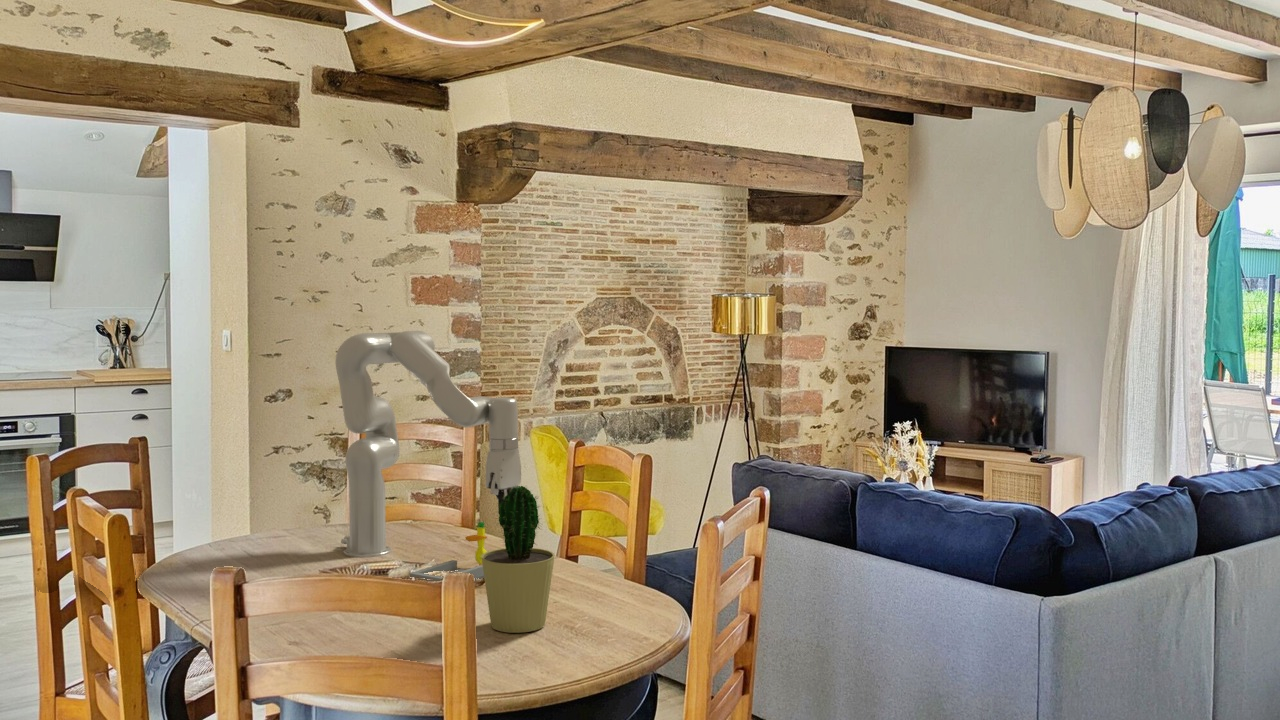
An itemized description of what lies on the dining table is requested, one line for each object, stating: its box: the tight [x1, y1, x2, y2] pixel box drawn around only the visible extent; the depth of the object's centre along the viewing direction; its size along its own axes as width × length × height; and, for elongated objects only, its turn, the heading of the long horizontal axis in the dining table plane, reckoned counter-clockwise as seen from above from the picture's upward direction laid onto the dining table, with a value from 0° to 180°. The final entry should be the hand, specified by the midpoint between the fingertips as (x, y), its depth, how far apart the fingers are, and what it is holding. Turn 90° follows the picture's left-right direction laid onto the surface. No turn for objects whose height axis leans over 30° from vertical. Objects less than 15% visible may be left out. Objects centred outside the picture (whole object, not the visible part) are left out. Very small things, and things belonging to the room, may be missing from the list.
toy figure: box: [464, 521, 488, 567], centre depth 271 cm, size 7×4×12 cm, turn 120°
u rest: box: [408, 559, 484, 583], centre depth 258 cm, size 12×16×3 cm
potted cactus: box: [481, 485, 555, 634], centre depth 222 cm, size 15×15×30 cm
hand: (505, 514), depth 277 cm, fingers closed
